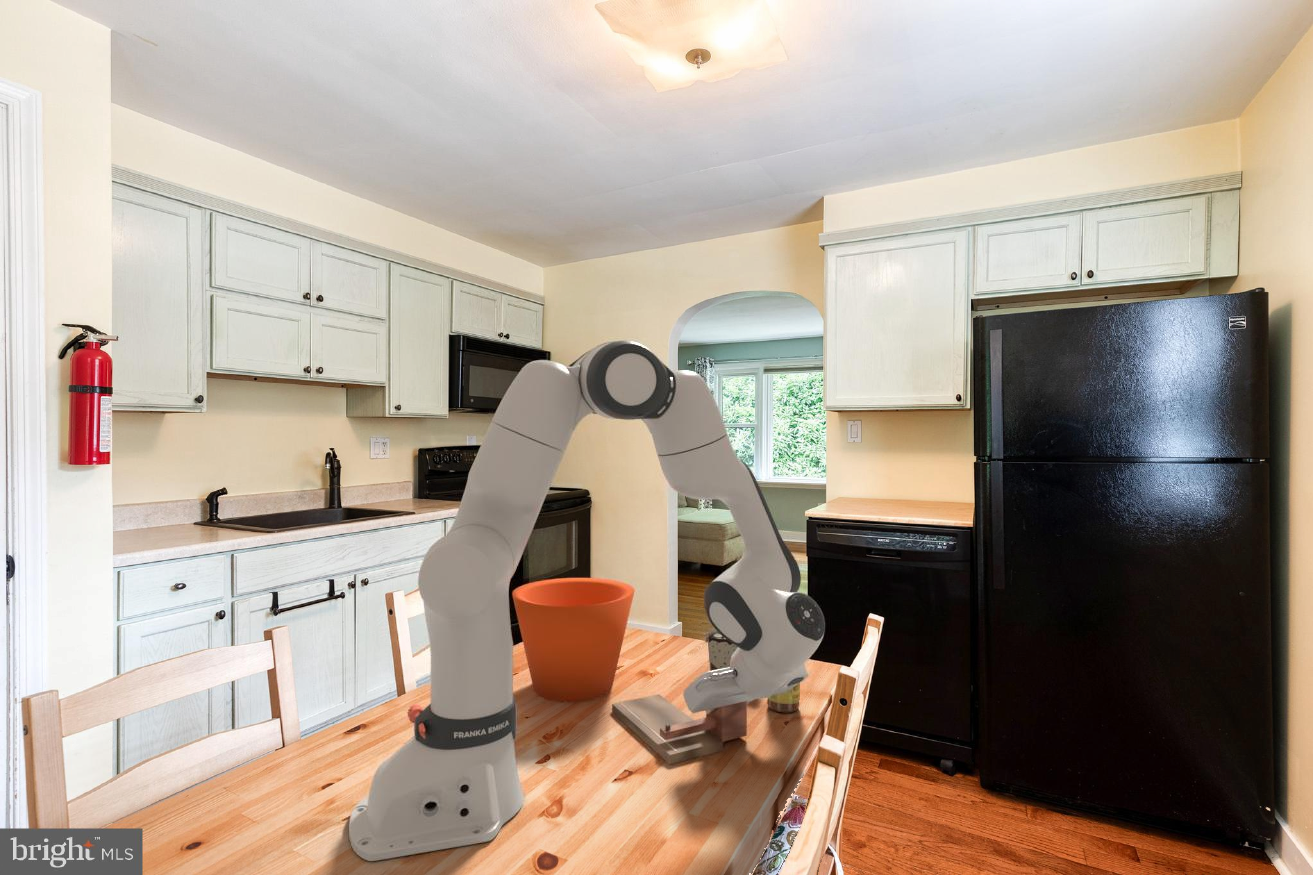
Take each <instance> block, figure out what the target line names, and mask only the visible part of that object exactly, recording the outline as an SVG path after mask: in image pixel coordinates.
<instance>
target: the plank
mask: <svg viewBox="0 0 1313 875" xmlns="http://www.w3.org/2000/svg"><path fill="white" fill-rule="evenodd" d="M611 712H612V713H613V715H615V716H616V717H617V718H618V719H619V720H620V721H622V722H623V723H624V724H625V725H626V726H627V727H628V728H629V729H630V730H631V731H632V732H633V733H635V735H637V736H638V737H639V738H640V739H641V741H643V742H645V743H646V744H647V745H648V746H649V747H650V748H651V749H652V750H653V751H654V752H655V753H656V754H657V755H659V757H661V758H662V759H663V760H664V761H665V762H666V763H667V764H669V765H673V764H677V763H681V762H685V761H690V760H692V759H696V758H700V757H703V756H706V755H707V756H708V755H710V754H711V755H712V754H714V753H718V752H723V750H724V748H723V746H724V745H723V744H724V742H723V741H722V740H720V739H719V738H717V737H716V736H715V735H713V734H712V733H711V732H709V731H708V730H704V731H700V732H696V733H692V734H688V735H684V736H680V737H676V738H672V739H668V740H664V739H663V738H662V737H661V736H660V728H663V727H665V725H666V724H669V725H670V726H672V725H676V724H680V723H684V722H689V721H693V720H694V719H693V718H692V717H690V716H689V715H688V714H686V713H685V712H684V711H682V710H681V709H680V708H678V707H677V706H676V705H674V703H672V702H671V701H669V700H667V699H666V698H665V697H664V696H662V695H661V694H655V695H649V696H645V697H644V696H643V697H639V698H635V699H630V700H625V701H620V702H619V701H618V702H615V703H612V704H611Z"/></svg>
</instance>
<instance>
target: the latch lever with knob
mask: <svg viewBox="0 0 1313 875" xmlns="http://www.w3.org/2000/svg"><path fill="white" fill-rule="evenodd" d="M705 715H706V716H705V717H701V718H697V719H693V721H689V722H684V723H680V724H676V725H672V726H670V725H669V724H666V725H665V727H663V728H660V736H661V737H662V738H663V739H664V740H668V739H672V738H676V737H680V736H684V735H688V734H692V733H696V732H700V731H704V730H708V731H709V732H711V733H712V734H713V735H715V736H716V737H717V738H719V739H720V740H722V741H723V743H724V742H727V741H730V740H731V741H732V740H735V739H738V738H743V737H746V736H748V734H747V733H748V730H747V729H748V725H747V724H748V719H747V717H748V704H747V701H745V702H740V703H736V704H731V705H727V706H723V707H718V710H717V711H716V712H715V713H711V714H707V713H706V712H705Z"/></svg>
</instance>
